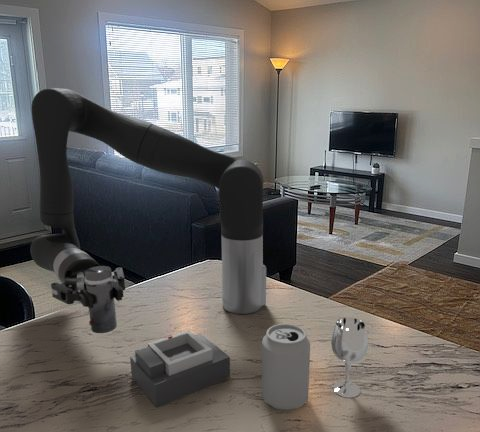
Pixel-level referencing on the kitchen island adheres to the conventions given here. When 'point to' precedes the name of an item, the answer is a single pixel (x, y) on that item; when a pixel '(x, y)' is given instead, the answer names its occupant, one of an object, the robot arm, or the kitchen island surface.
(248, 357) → the kitchen island surface
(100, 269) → the thermos
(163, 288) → the kitchen island surface
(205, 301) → the kitchen island surface
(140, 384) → the tray on grey base
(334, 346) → the wineglass
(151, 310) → the kitchen island surface
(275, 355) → the can
